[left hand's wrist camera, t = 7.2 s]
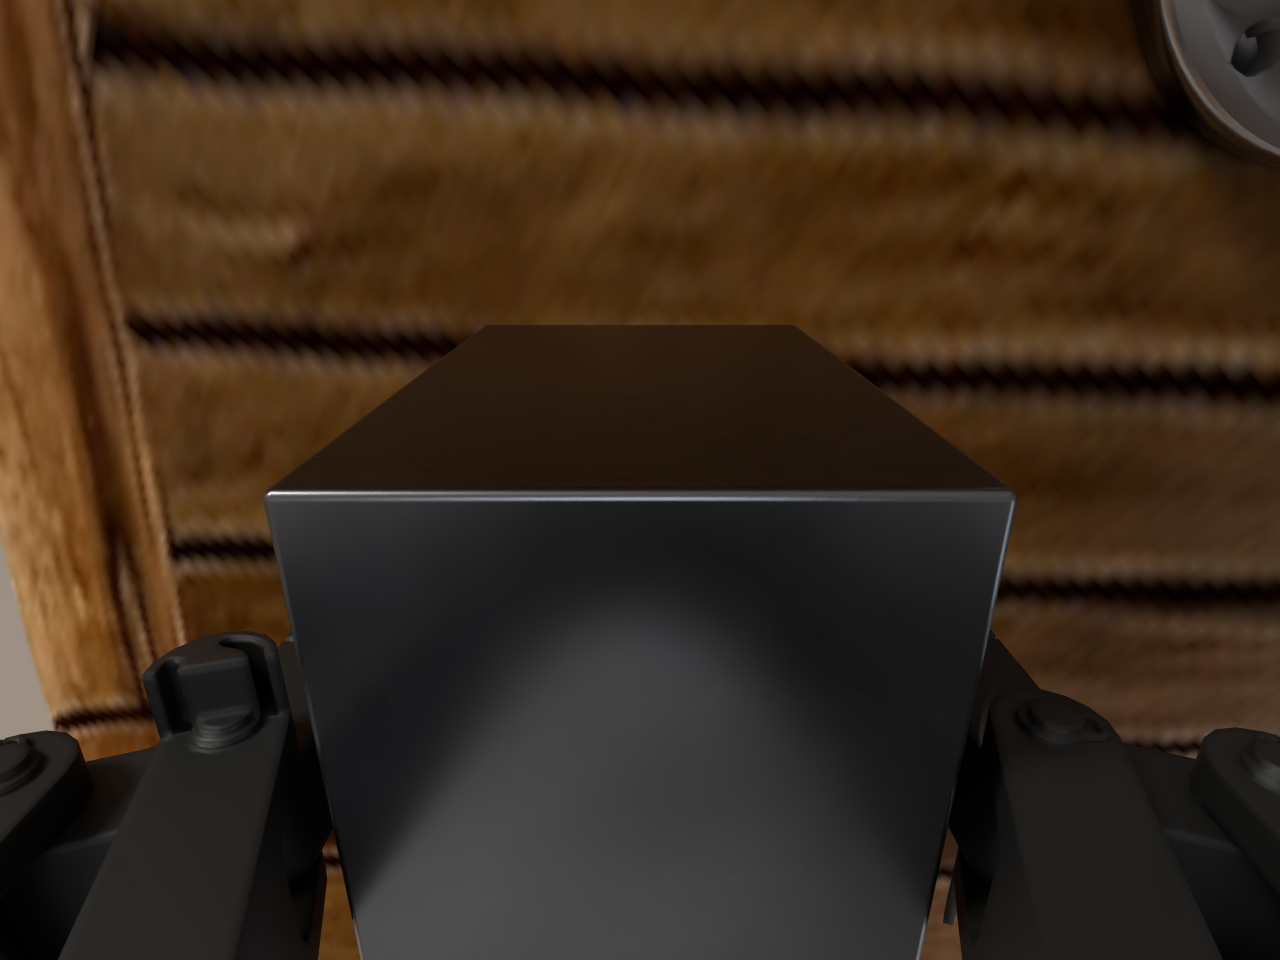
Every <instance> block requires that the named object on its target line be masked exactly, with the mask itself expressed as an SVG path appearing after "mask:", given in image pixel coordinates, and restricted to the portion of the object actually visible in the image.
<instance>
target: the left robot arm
mask: <svg viewBox="0 0 1280 960" xmlns="http://www.w3.org/2000/svg"><path fill="white" fill-rule="evenodd" d="M1131 4H1132V9H1133V15H1134V20H1135V26H1136V29H1137V33H1138V36H1139V39H1140V43H1141V46H1142V50H1143V52H1144V55H1145V57H1146V59H1147V62H1148V64H1149V67H1150V69H1151V71H1152V74H1153V75H1154V77H1155V79H1156V81H1157V82H1158V84H1159V86H1160V88H1161V90H1162V91H1163V93H1164V94H1165V96H1166V97H1167V98H1168V100H1169V101H1170V103H1171V104H1172V105H1173V107H1174V108H1175V109H1176V111H1177V112H1178V113H1179V114H1180V115H1181V116H1182V117H1183V118H1184V119H1185V120H1186V121H1187V122H1188V123H1189V124H1190V125H1191V126H1192V127H1193V128H1194V129H1195V130H1197V131H1198V132H1199V133H1200V134H1201V135H1203V136H1204V137H1205V138H1206V139H1208V140H1209V141H1211V142H1213V143H1214V144H1216V145H1217V146H1219V147H1221V148H1222V149H1224V150H1226V151H1228V152H1230V153H1232V154H1235V155H1237V156H1239V157H1241V158H1244V159H1246V160H1250V161H1253V162H1256V163H1260V164H1263V165H1267V166H1273V167H1278V168H1280V0H1131ZM141 678H142V681H143V684H144V687H145V691H146V694H147V697H148V700H149V703H150V707H151V710H152V713H153V716H154V719H155V723H156V726H157V729H158V732H159V736H160V740H159V742H158V744H157V746H155V747H152V748H148V749H144V750H140V751H135V752H130V753H125V754H121V755H116V756H111V757H106V758H102V759H97V760H92V761H88V762H85V759H84V756H83V754H82V751H81V748H80V746H79V743H78V741H77V740H76V739H75V738H73V737H72V736H71V735H69V734H68V733H66V732H56V731H40V732H33V733H27V734H20V735H16V736H12V737H8V738H5V739H4V740H0V960H318V954H319V945H320V937H321V928H322V919H323V911H324V902H325V893H326V885H327V874H326V867H325V861H324V857H323V852H322V849H323V847H324V845H325V843H326V841H327V839H328V837H329V835H330V833H331V831H332V829H333V825H332V820H331V816H330V811H329V806H328V801H327V797H326V792H325V787H324V783H323V778H322V773H321V768H320V764H319V759H318V754H317V750H316V745H315V740H314V735H313V731H312V726H311V721H310V716H309V712H308V707H307V702H306V698H305V693H304V688H303V683H302V679H301V674H300V669H299V664H298V660H297V655H296V650H295V646H294V641H293V636H292V631H291V632H290V633H289V634H288V636H287V637H286V641H285V642H282V643H281V644H280V645H279V646H278V648H277V646H276V642H274V641H273V640H272V639H270V638H269V637H268V636H267V635H265V634H260V633H254V632H249V631H242V632H225V633H220V634H216V635H212V636H208V637H203V638H199V639H197V640H194V641H192V642H190V643H187V644H185V645H182V646H180V647H177V648H175V649H173V650H172V651H170V652H169V653H167V654H165V655H164V656H162V657H161V658H159V659H158V660H156V661H155V662H153V664H152V665H151V666H150V667H149V668H148V669H147V670H146V671H145V672H144V674H143V675H142V676H141ZM948 826H949V828H950V830H951V832H952V834H953V836H954V838H955V840H956V842H957V844H958V846H959V848H958V852H957V857H956V861H955V866H954V870H953V875H952V879H951V884H950V888H949V893H948V897H947V902H946V906H945V912H944V919H943V923H946V924H950V925H953V922H954V917H955V913H956V909H957V917H958V926H959V935H960V943H961V952H962V960H1280V737H1278V736H1277V735H1274V734H1270V733H1266V732H1262V731H1256V730H1249V729H1242V728H1236V727H1235V728H1225V729H1216V730H1214V731H1213V732H1211V733H1210V734H1208V735H1207V736H1206V737H1204V739H1203V742H1202V745H1201V747H1200V750H1199V753H1198V756H1197V758H1196V759H1193V758H1189V757H1184V756H1179V755H1174V754H1170V753H1165V752H1160V751H1155V750H1151V749H1146V748H1141V747H1136V746H1133V745H1129V744H1125V743H1122V741H1121V738H1120V737H1119V735H1118V734H1117V733H1116V731H1115V730H1114V729H1113V727H1112V726H1111V725H1110V723H1109V722H1108V721H1107V720H1105V719H1104V718H1103V717H1101V716H1100V715H1099V714H1097V713H1096V712H1095V711H1093V710H1092V709H1091V708H1089V707H1087V706H1085V705H1083V704H1081V703H1079V702H1077V701H1075V700H1073V699H1071V698H1068V697H1066V696H1063V695H1060V694H1056V693H1052V692H1049V691H1045V690H1041V689H1040V688H1039V687H1038V686H1037V685H1036V683H1035V682H1034V681H1033V680H1032V679H1031V677H1030V676H1029V675H1028V674H1027V673H1026V671H1025V670H1024V669H1023V668H1022V667H1021V665H1020V664H1019V663H1018V662H1017V661H1016V659H1015V658H1014V657H1013V656H1012V655H1011V653H1010V652H1009V651H1008V650H1007V649H1006V647H1005V646H1004V645H1003V644H1002V643H1001V641H1000V640H999V639H995V634H994V633H993V632H992V631H991V629H990V631H989V635H988V640H987V645H986V650H985V654H984V659H983V664H982V668H981V673H980V678H979V683H978V687H977V692H976V697H975V701H974V706H973V711H972V716H971V720H970V725H969V730H968V734H967V739H966V744H965V749H964V753H963V758H962V763H961V767H960V772H959V777H958V781H957V786H956V791H955V796H954V800H953V805H952V810H951V814H950V819H949V824H948Z"/></svg>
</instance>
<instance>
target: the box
mask: <svg viewBox="0 0 1280 960" xmlns="http://www.w3.org/2000/svg"><path fill="white" fill-rule="evenodd" d="M1016 503H1017V498H1016V493H1015V491H1014V490H1013V489H1012V488H1010V487H1009V486H1008V485H1006V484H1005V483H1004V482H1002V481H1001V480H1000V479H998V478H997V477H996V476H994V475H993V474H992V473H990V472H989V471H988V470H986V469H985V468H984V467H982V466H981V465H980V464H978V463H977V462H976V461H974V460H973V459H972V458H970V457H969V456H968V455H966V454H965V453H964V452H962V451H961V450H960V449H959V448H957V447H956V446H955V445H953V444H952V443H951V442H949V441H948V440H947V439H945V438H944V437H943V436H941V435H940V434H939V433H937V432H936V431H935V430H933V429H932V428H931V427H929V426H928V425H927V424H925V423H924V422H923V421H921V420H920V419H919V418H917V417H916V416H915V415H913V414H912V413H911V412H909V411H908V410H907V409H905V408H904V407H903V406H901V405H900V404H899V403H897V402H896V401H895V400H893V399H892V398H891V397H889V396H888V395H887V394H885V393H884V392H883V391H881V390H880V389H879V388H877V387H876V386H875V385H873V384H872V383H871V382H869V381H868V380H867V379H865V378H864V377H863V376H861V375H860V374H859V373H857V372H856V371H855V370H853V369H852V368H851V367H849V366H848V365H847V364H845V363H844V362H843V361H841V360H840V359H839V358H837V357H836V356H835V355H833V354H832V353H831V352H829V351H828V350H827V349H825V348H824V347H823V346H821V345H820V344H819V343H817V342H816V341H815V340H813V339H812V338H811V337H809V336H808V335H807V334H805V333H804V332H803V331H801V330H800V329H799V328H797V327H796V326H794V325H487V326H485V327H483V328H482V329H480V330H479V331H478V332H476V333H475V334H474V335H472V336H471V337H470V338H468V339H467V340H466V341H464V342H463V343H462V344H460V345H459V346H458V347H456V348H455V349H454V350H452V351H451V352H450V353H448V354H447V355H446V356H444V357H443V358H442V359H440V360H439V361H438V362H436V363H435V364H434V365H432V366H431V367H430V368H429V369H427V370H426V371H425V372H423V373H422V374H421V375H419V376H418V377H417V378H415V379H414V380H413V381H411V382H410V383H409V384H407V385H406V386H405V387H403V388H402V389H401V390H399V391H398V392H397V393H395V394H394V395H393V396H391V397H390V398H389V399H387V400H386V401H385V402H383V403H382V404H381V405H379V406H378V407H377V408H375V409H374V410H373V411H371V412H370V413H369V414H367V415H366V416H365V417H363V418H362V419H361V420H359V421H358V422H357V423H355V424H354V425H353V426H351V427H350V428H349V429H347V430H346V431H345V432H343V433H342V434H341V435H339V436H338V437H337V438H336V439H334V440H333V441H332V442H330V443H329V444H328V445H326V446H325V447H324V448H322V449H321V450H320V451H318V452H317V453H316V454H314V455H313V456H312V457H310V458H309V459H308V460H306V461H305V462H304V463H302V464H301V465H300V466H298V467H297V468H296V469H294V470H293V471H292V472H290V473H289V474H288V475H286V476H285V477H284V478H282V479H281V480H280V481H278V482H277V483H276V484H274V485H273V486H272V487H270V488H269V489H268V490H267V491H266V493H265V498H264V504H265V508H266V513H267V518H268V523H269V527H270V532H271V537H272V542H273V546H274V551H275V556H276V560H277V565H278V570H279V575H280V579H281V584H282V589H283V594H284V598H285V603H286V608H287V612H288V617H289V622H290V627H291V631H292V636H293V641H294V646H295V650H296V655H297V660H298V664H299V669H300V674H301V679H302V683H303V688H304V693H305V698H306V702H307V707H308V712H309V716H310V721H311V726H312V731H313V735H314V740H315V745H316V750H317V754H318V759H319V764H320V768H321V773H322V778H323V783H324V787H325V792H326V797H327V801H328V806H329V811H330V816H331V820H332V825H333V830H334V835H335V839H336V844H337V849H338V853H339V858H340V863H341V868H342V872H343V877H344V882H345V887H346V891H347V896H348V901H349V905H350V910H351V915H352V920H353V924H354V929H355V934H356V939H357V943H358V948H359V953H360V957H361V960H920V956H921V951H922V946H923V942H924V937H925V932H926V928H927V923H928V918H929V913H930V909H931V904H932V899H933V895H934V890H935V885H936V880H937V876H938V871H939V866H940V862H941V857H942V852H943V847H944V843H945V838H946V833H947V829H948V824H949V819H950V814H951V810H952V805H953V800H954V796H955V791H956V786H957V781H958V777H959V772H960V767H961V763H962V758H963V753H964V749H965V744H966V739H967V734H968V730H969V725H970V720H971V716H972V711H973V706H974V701H975V697H976V692H977V687H978V683H979V678H980V673H981V668H982V664H983V659H984V654H985V650H986V645H987V640H988V635H989V631H990V626H991V621H992V617H993V612H994V607H995V602H996V598H997V593H998V588H999V584H1000V579H1001V574H1002V569H1003V565H1004V560H1005V555H1006V551H1007V546H1008V541H1009V536H1010V532H1011V527H1012V522H1013V518H1014V513H1015V508H1016Z"/></svg>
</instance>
